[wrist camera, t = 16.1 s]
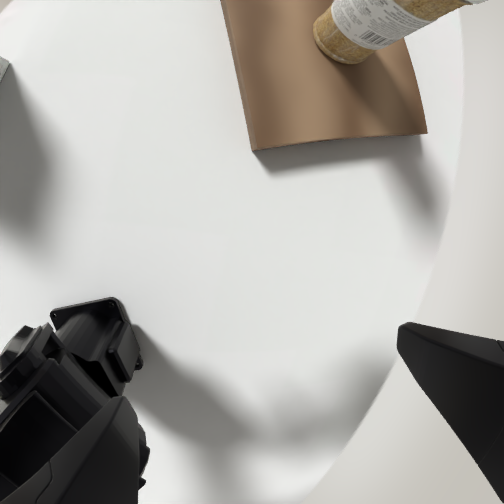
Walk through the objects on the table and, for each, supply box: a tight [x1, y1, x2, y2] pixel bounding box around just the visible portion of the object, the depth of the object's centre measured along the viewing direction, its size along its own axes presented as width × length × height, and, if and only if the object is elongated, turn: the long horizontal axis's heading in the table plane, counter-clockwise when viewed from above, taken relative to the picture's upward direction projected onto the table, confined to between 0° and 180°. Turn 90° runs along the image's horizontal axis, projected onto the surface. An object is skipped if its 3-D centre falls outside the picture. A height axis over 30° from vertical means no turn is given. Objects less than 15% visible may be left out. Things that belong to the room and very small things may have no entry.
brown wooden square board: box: [220, 0, 428, 151], centre depth 17 cm, size 14×14×2 cm
